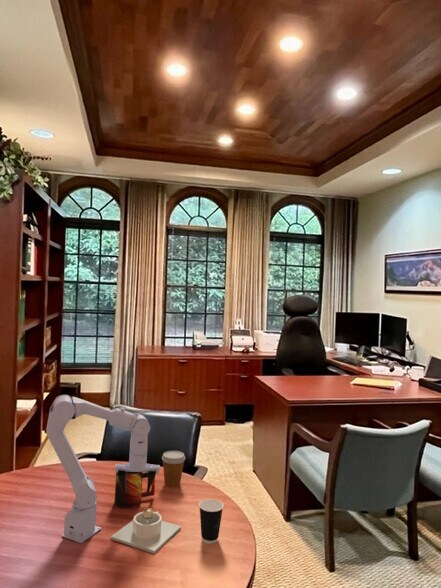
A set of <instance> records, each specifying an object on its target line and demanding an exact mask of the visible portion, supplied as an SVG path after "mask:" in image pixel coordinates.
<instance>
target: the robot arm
mask: <svg viewBox="0 0 441 588" xmlns="http://www.w3.org/2000/svg"><path fill="white" fill-rule="evenodd" d="M83 415H87V416H91V417H95V418H97V419H102V420H106V421H108V423H109V426H111V427H113V428H114V427H115V428H117V429H121V430H124V431H127V432H129V431H130V441H129V459H128V463H116V464H115V466H114V473H116V472H118V478H119V480H120V483H121V486H122V490H123V495H125V493H126V476H127V472H143V473H146V472H149V473H148V478H147V486H146V492H147V495H149V491H151V485H152V482H153V480H154V478H155V479H156V475H157V474H159V473H160V469H161V468H160V467H161V465H160V464H153V463H152V464H151V463H147V462H148V461H147V460H148V457H147V456H148V445H149V444H148V442H149V441H148V440H149V438H148V436H149V432H150V431H151V426H150V422H149V421H148V419H147V418H146V417H145V416H144V415H143V414H142V413H138V412H134V413H133V412H130V411H128V410H126V409H125V407H120V408H118V407H117V408H116V407H115V408H114V409H108V408H106V407H103V406H101V405H99V404H96V403H93V402H91V401H88V400H85V399H81V398H79V397H76V396H71V395H68V394H62V395H58V396H56V397H55V399H54V400H53V402H52V404H51V406H50V407H49V413H48V419H47V424H46V430H45V431H46V432H45V433H46V436H47V437H48V440H49V443H50V444H51V446H52V447H53V450H54V452H55V453H56V455H57V457H58V460H59V461H60V463H61V466H62V467H63V469H64V471H65V474H66V476H67V477H68V479H69V481H70V484H71V487H72V490H73V492H74V495H75V499H74V501H73V502H72V507H71V508H70V510H69V511H67V513H66V514H65V516H64V527H63V528H64V529H63V533H62V535H61V537H63V538H66V539H69V540H71V541H74V542H76V543H80V544H82V543H84V542H85V541H87V540H89V538H91V537H92V536H94V535H96V533H98V532H99V531H101V530H102V527H100V526H97V525H96V523H97V522H96V521H97V500H98V495H97V492H96V488H95V482H94V480H93V479H91V478H90V477H89V476H88V474H87V472H85V470H84V469H83V467H82V465H81V462H80V460H79V458H78V456H77V455H76V453H75V451H74V449H73V447H72V445H71V442H70V441H69V439H68V437H67V434H66V433H65V431H64V430H65V428H66V426H67V424H68V423H70V421H71V420H72V419H73V417H74V416H75V418H79V417H81V416H83Z"/></svg>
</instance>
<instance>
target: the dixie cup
mask: <svg viewBox="0 0 441 588" xmlns="http://www.w3.org/2000/svg"><path fill="white" fill-rule="evenodd" d="M224 506H225V505H224V503H223V502H222V501H220V500H218V499H215V498H207V499H203V500H201V501H199V504H198V507H199V517H200V534H201V535H200V536H201V539H202V540H201V541H202V542H203V543H205V544H210V545H211V544H212V545H213V544H215V543H216V542H218V538H219V534H220V529H221V522H222V521H221V520H222V516H223V510H224Z"/></svg>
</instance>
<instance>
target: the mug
mask: <svg viewBox="0 0 441 588" xmlns="http://www.w3.org/2000/svg"><path fill="white" fill-rule="evenodd" d="M148 473H149V472H127V476H126V493H125V495H123V490H122V486H121V483H120V480H119V478H118V472H115V484H114V486H115V490H114V505H115V507H118V508H120V509H133V508H137V507H138V506H140V505H141V503H142V498H146V497H151V496H152V497H153V496H155V491H156V485H155V483H156V477H155V478H154V480H153V482H152V484H151V487H150V490H149V495H147V491H143V479H148Z"/></svg>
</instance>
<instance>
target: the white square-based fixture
mask: <svg viewBox="0 0 441 588" xmlns="http://www.w3.org/2000/svg"><path fill="white" fill-rule="evenodd" d="M162 518H163V517H162V515H161V514H160V513H159V511H153V517H152V518H151V519H149V524H146V519H144V518H143V511H141V512H137V514H135V515H134V516H133V519H132V520H131V521H129V522H128V523H127V524H125V525H124V526H123V527H121V528H120V529H119V530H117V532H115V533H114V534H112V535H111V536H110V540H112V541H116V542H119V543H122V544H124V545H127V546H131V547H133V548H136V549H138V550H143V551H145V552H148V553H150V554H156V553H157V552H158V551H159V550H160V549H161V548H162V547H164V545H165V544H166V543H167V542H169V541H170V540H171V539H172V538H173V537H174V536H175V535H176V534H177V533H179V531H180V530H182V526H181V525H177V524H175V523H172V522H168V521H164V520H163V519H162Z"/></svg>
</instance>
